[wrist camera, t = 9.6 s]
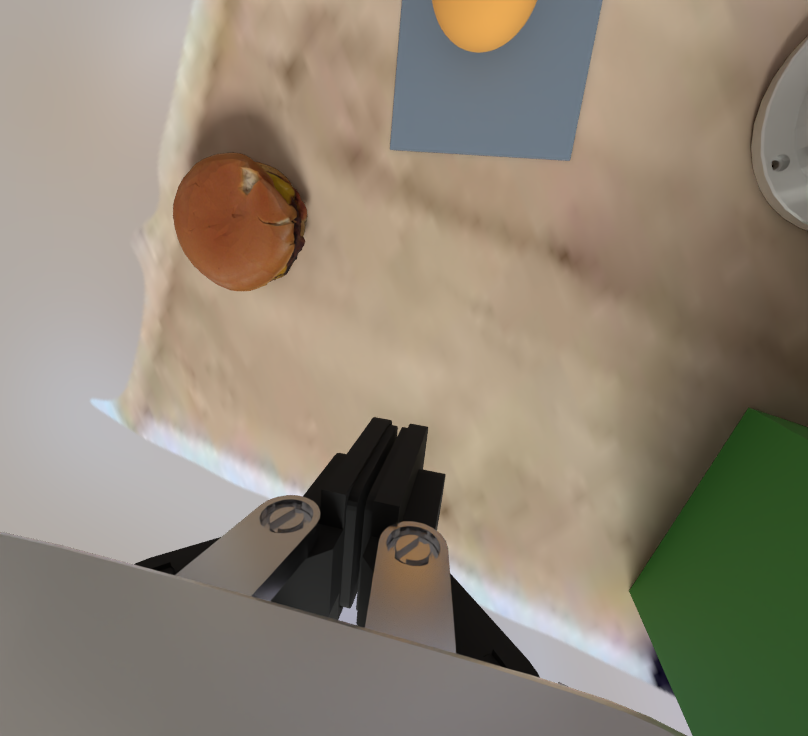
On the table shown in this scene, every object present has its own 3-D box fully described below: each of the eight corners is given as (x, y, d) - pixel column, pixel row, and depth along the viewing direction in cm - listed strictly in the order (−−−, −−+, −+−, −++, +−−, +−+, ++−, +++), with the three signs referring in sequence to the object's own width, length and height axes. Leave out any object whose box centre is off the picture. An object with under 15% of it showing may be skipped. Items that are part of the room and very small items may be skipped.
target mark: (408, -69, 23) (407, -72, 23) (617, -77, 21) (618, -80, 21) (390, 149, 27) (390, 149, 27) (569, 160, 25) (570, 159, 25)
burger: (191, 259, 32) (145, 259, 28) (215, 143, 29) (168, 121, 25) (295, 306, 32) (264, 313, 27) (330, 191, 29) (302, 178, 24)
